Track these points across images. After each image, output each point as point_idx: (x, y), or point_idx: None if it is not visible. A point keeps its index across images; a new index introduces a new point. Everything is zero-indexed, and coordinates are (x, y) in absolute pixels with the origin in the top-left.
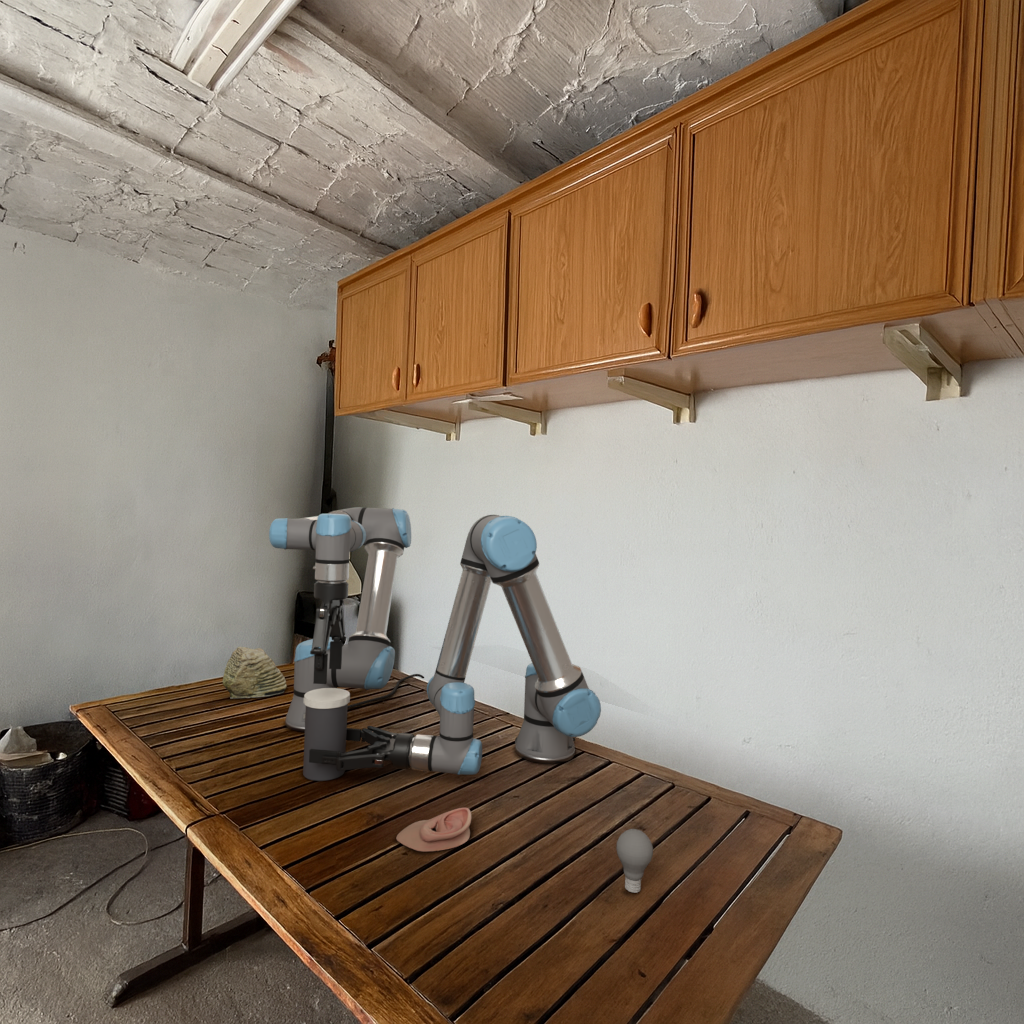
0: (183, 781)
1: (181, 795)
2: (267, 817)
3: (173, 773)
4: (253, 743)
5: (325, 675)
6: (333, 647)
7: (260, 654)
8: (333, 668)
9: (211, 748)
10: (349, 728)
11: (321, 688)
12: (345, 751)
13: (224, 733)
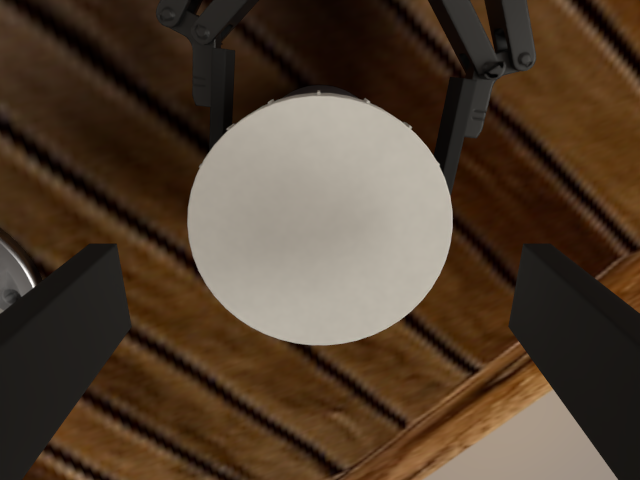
0: (396, 439)
1: (463, 416)
2: (586, 212)
3: (358, 470)
4: (162, 388)
5: (585, 278)
6: (17, 439)
7: None
8: (124, 298)
9: (215, 457)
10: (213, 103)
11: (215, 294)
12: (314, 88)
13: (119, 466)
